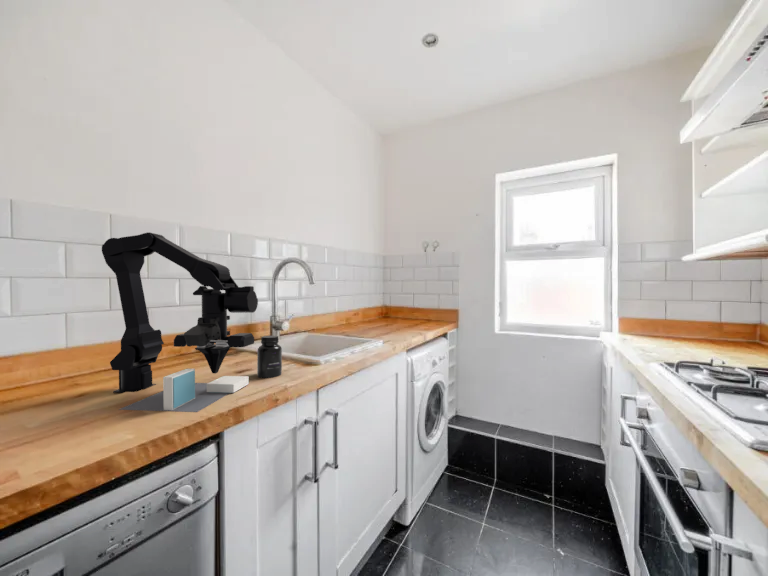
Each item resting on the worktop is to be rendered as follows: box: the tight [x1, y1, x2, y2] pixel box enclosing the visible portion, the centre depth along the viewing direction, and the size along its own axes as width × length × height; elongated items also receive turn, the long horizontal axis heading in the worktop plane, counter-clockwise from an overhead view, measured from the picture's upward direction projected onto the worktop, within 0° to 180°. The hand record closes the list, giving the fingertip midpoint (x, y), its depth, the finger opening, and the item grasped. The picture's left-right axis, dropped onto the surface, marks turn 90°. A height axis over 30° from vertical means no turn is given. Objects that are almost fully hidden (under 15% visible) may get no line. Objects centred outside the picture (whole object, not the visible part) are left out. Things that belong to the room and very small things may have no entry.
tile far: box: [207, 375, 250, 394], centre depth 81 cm, size 2×7×7 cm
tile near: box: [162, 368, 196, 410], centre depth 70 cm, size 2×7×7 cm, turn 175°
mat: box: [118, 382, 231, 413], centre depth 76 cm, size 18×19×1 cm
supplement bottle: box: [256, 335, 283, 379], centre depth 93 cm, size 7×7×12 cm
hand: (215, 373), depth 81 cm, fingers closed
